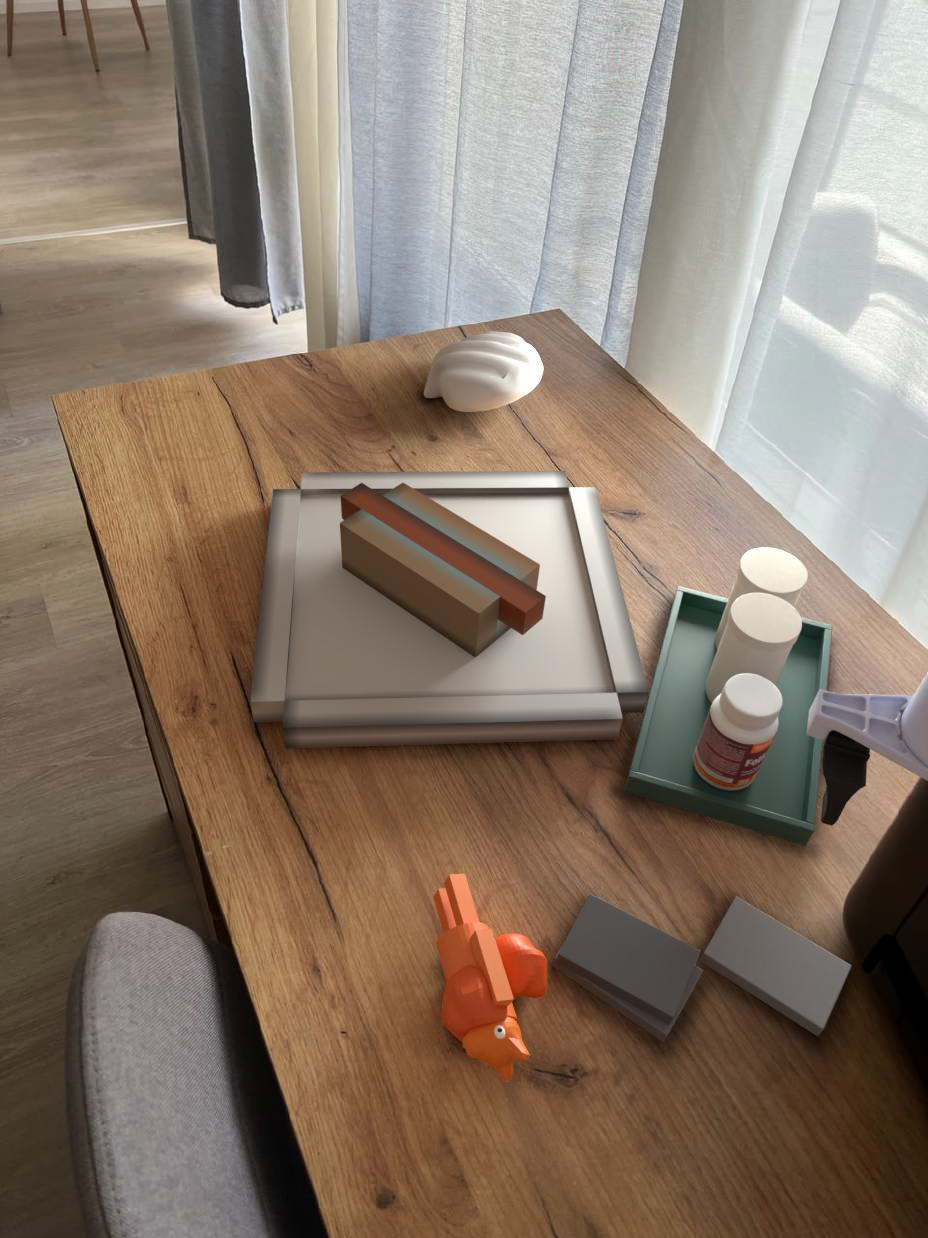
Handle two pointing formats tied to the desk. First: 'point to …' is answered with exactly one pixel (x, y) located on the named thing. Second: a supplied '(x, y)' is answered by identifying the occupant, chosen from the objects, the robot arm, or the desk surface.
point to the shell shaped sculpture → (484, 372)
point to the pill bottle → (738, 732)
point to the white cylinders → (758, 618)
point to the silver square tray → (442, 612)
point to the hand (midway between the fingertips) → (891, 830)
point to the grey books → (666, 972)
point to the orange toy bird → (484, 979)
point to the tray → (681, 710)
